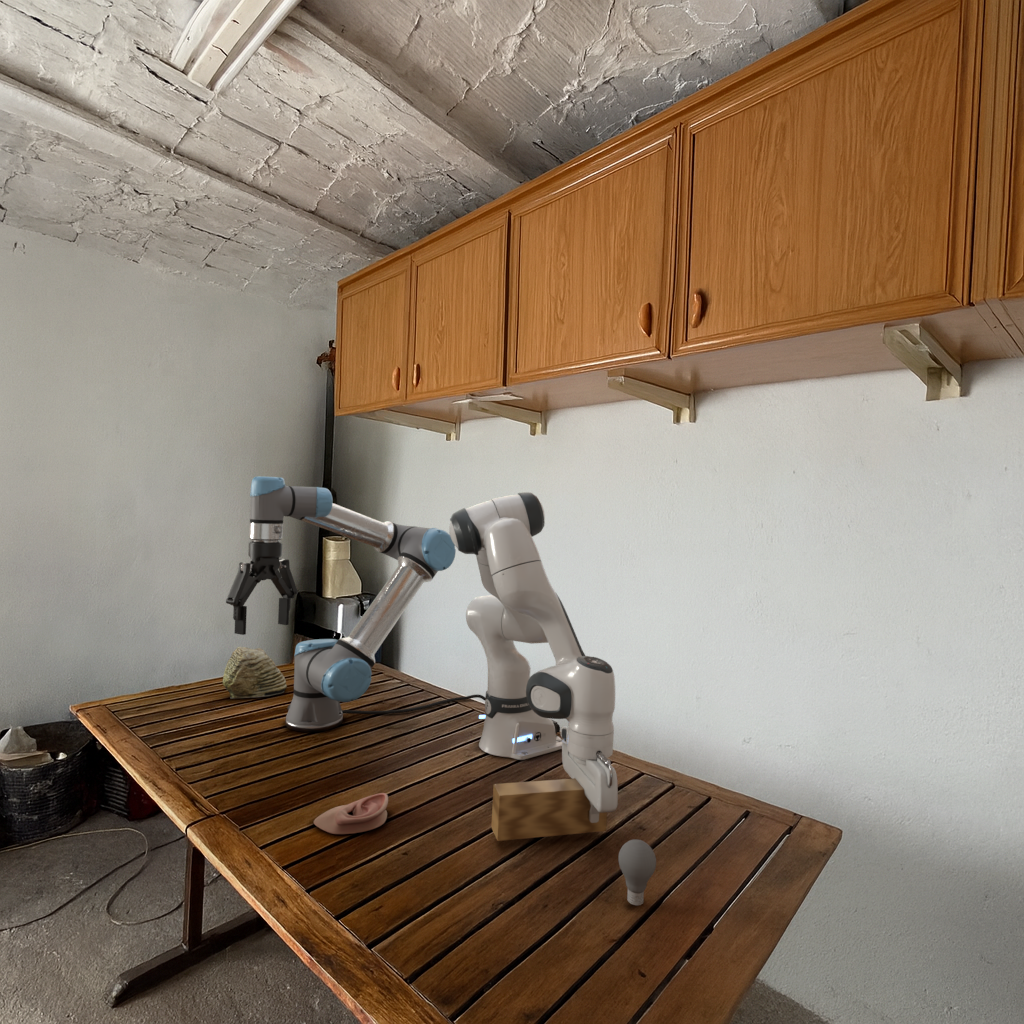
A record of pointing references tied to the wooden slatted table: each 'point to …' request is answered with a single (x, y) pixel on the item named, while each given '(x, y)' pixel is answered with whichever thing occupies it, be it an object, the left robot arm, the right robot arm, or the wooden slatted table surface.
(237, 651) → the fossil
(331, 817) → the anatomical model
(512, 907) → the wooden slatted table surface
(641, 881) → the light bulb
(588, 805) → the bar
